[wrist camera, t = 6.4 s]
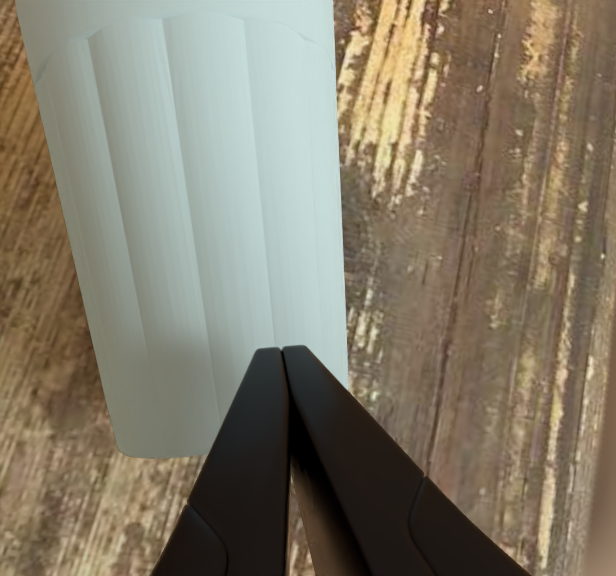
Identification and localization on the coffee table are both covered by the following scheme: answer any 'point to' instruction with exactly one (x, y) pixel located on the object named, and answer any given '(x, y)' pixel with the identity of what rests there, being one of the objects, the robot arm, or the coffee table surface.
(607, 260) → the coffee table surface
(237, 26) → the cup
